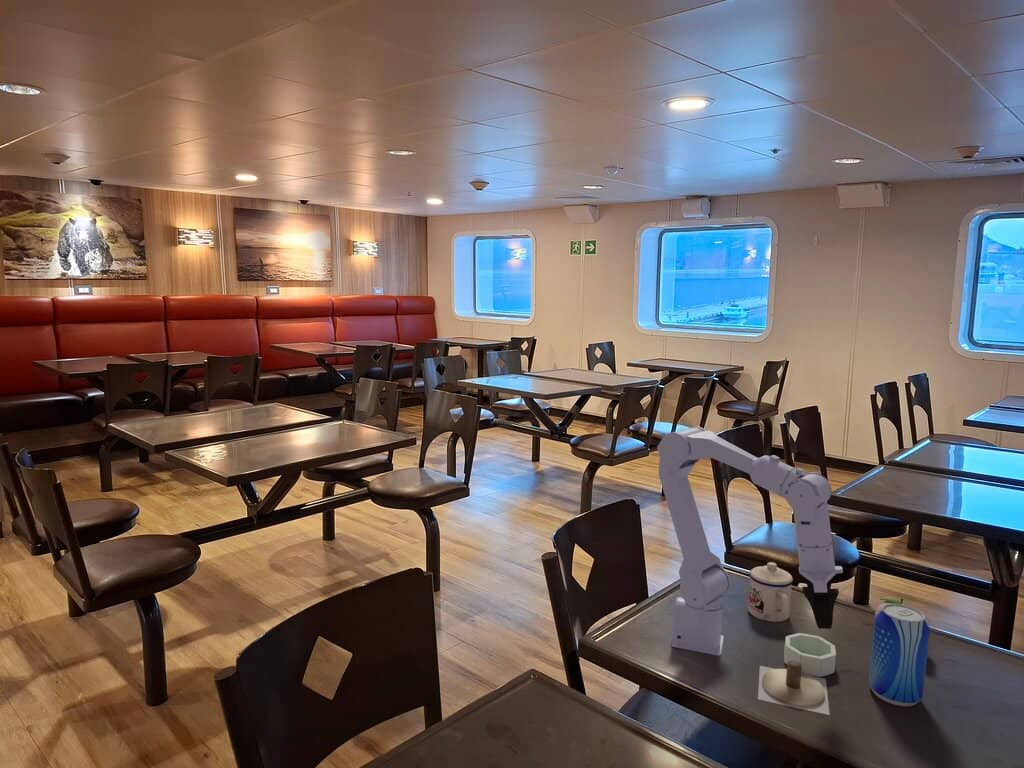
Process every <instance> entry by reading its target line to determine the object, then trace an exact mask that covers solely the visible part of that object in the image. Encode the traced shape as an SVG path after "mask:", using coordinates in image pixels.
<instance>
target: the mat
mask: <svg viewBox="0 0 1024 768" xmlns="http://www.w3.org/2000/svg"><path fill="white" fill-rule="evenodd" d="M773 669H775V668H773V667H767V666H763V665H759V673H758V676H759V677H758V688H757V689H758V690H757V691H758V692H757V700H758V701H763V702H766V703H772V704H776V705H781V706H786V707H790V708H794V709H799V710H803V711H808V712H811V713H817V714H822V715H826V716H830V715H831V714H830V705H829V697H828V696H829V695H828V690H827V689H828V687H827V679H826V678H822V677H818V676H811V675H810V676H811V677H813V678H814V679H816V680H817V681H818V682H819V683H820V684H821V685H822V686H823V688H824V691H825V694H824V700H823V701H822V702H821V703H820V704H818V705H815V706H807V707H804V706H795V705H790V704H787V703H784V702H782V701H779V700H777V699H775V698H774V697H772V696H771V695H769V694H768V693H767V692H766V691H765V689H764V688H763V685H762V678H763V675H764V674H765V673H766V672H768V671H770V670H773Z"/></svg>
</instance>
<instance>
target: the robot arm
mask: <svg viewBox="0 0 1024 768" xmlns="http://www.w3.org/2000/svg"><path fill="white" fill-rule="evenodd" d="M656 449H657V452H658V456H659V464H658V477H659V480H660V484H661V486H662V487H661V488H662V490H663V494H664V497H665V500H666V504H667V507H668V511H669V515H670V518H671V521H672V524H673V527H674V530H675V533H676V537H677V541H678V544H679V547H680V551H681V555H682V557H683V560H682V562H681V565H680V567H679V569H678V574H679V580H680V584H679V585H680V586H679V591H680V595H681V596H677V597H676V600H675V603H674V608H673V609H674V610H673V624H672V642H671V646H672V647H673V648H676V649H682V650H688V651H693V652H699V653H703V654H708V655H713V656H722V650H723V644H724V639H725V637H724V635H723V634H722V629H723V628H722V625H723V609H724V596H725V594H727V593H728V592H729V590H730V588H731V577H730V575H729V573H728V571H727V570H726V569H725V568H724V567H723V565H722V562H721V558H719V557H718V556H717V555H716V554H714V553H713V552H712V551H711V549H710V546H709V544H708V543H709V542H708V540H707V537H706V533H705V529H704V527H703V526H704V525H703V523H702V520H701V516H700V514H699V509H698V507H697V503H696V500H695V496H694V494H693V490H692V487H691V483H690V480H689V474H690V473H691V471H692V470H693V468H694V466H695V465H696V463H697V462H699V461H700V460H703V459H714V460H716V461H718V462H721V463H723V464H726V465H728V466H730V467H733V468H734V469H737V470H739V471H742V472H744V473H747V474H749V476H750V480H751V481H752V482H753V484H754V485H757V486H758V487H761V488H762V489H765V490H767V491H769V492H771V493H773V494H774V495H777V496H779V497H781V498H783V499H785V500H786V502H787V504H788V506H789V507H790V508H791V509H792V511H793V519H794V520H793V521H794V527H795V528H794V529H795V535H796V537H795V538H796V546H797V555H798V564H799V567H798V572H799V574H800V576H801V577H802V580H804V582H805V584H806V586H802V587H801V589H802V593H803V595H804V597H805V599H807V601H808V603H809V605H810V608H811V610H812V613H813V617H814V620H815V621H814V622H815V623H816V626H817V628H818V630H819V629H821V630H822V629H825V630H826V629H827V630H829V629H832V627H833V620H834V619H833V618H834V610H835V603H836V601H837V599H838V596H839V594H840V590H839V588H832V584H833V580H834V578H835V576H836V575H838V574H843V572H844V570H843V567H842V566H841V565H836V563H835V555H834V549H833V547H834V546H833V537H832V529H831V522H830V515H829V513H830V512H829V505H828V500H830V499H831V496H832V487H831V486H832V485H831V484H830V482H829V480H828V479H827V478H826V477H825V476H823V475H821V473H819V472H817V471H810V472H807V473H805V469H803V468H800V467H797V468H795V467H793V466H791V465H789V464H787V463H785V462H782V461H781V460H780V457H779V456H777V455H775V454H773V455H766V454H765V455H762V456H760V457H757V456H755V455H753V454H751V453H749V452H748V451H746V450H744V449H742V448H740V447H738V446H737V445H734V444H733V443H730V442H729V441H727V440H725V439H724V438H721V437H720V436H718V435H717V434H715V432H714V431H712V430H708V429H705V428H703V427H701V426H695V425H694V426H691V427H688V428H686V429H683V430H682V429H681V430H678V431H671V432H668V433H666V434H665V435H664V436H663V437H662V439H661V440H660V441H659V443H658V445H657V447H656Z"/></svg>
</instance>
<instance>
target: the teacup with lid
mask: <svg viewBox="0 0 1024 768" xmlns="http://www.w3.org/2000/svg"><path fill="white" fill-rule="evenodd" d="M748 575H749V591H748V604H747V610H748V612H749V613H750V614H751V616H754V617H755V618H756V619H758V620H759V619H760V620H762V621H766V622H770V623H771V622H773V623H781V622H785V621H786V620H788V619H789V617H790V610H791V597H792V586H793V585H792V584H793V583H794V578H793V576H792V575H791V574H790V573H789V572H788V571H786V570H784V569H782V568H779V567H778V566H777V563H776V562H767V564H766V565H763V566H756V567H754V568H752V569H750V571H749V574H748Z"/></svg>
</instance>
